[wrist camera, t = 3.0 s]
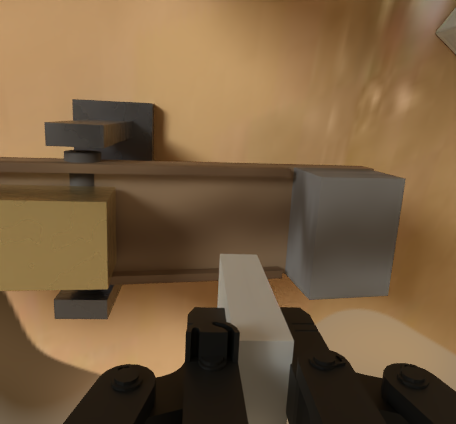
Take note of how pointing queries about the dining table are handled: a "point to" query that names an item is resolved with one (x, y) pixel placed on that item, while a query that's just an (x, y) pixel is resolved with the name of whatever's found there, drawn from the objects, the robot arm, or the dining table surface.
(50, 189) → the block
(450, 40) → the small box
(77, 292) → the beam stand
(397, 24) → the dining table surface
